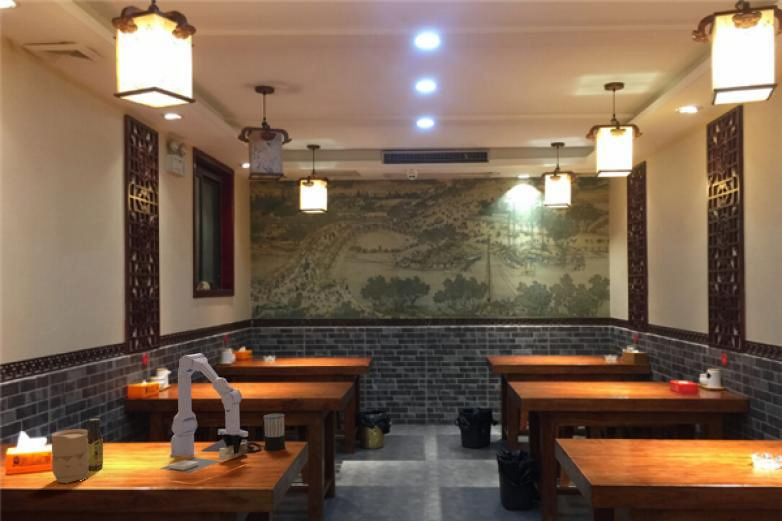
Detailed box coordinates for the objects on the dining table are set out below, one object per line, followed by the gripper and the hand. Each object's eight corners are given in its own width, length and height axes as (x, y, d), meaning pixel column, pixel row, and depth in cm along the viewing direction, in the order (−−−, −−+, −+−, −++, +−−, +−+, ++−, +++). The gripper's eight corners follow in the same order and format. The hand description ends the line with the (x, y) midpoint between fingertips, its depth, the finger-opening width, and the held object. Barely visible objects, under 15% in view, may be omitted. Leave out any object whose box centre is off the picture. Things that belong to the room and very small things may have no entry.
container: (95, 477, 269) (94, 430, 269) (65, 486, 258) (64, 437, 259) (75, 473, 275) (74, 428, 276) (45, 482, 264) (44, 434, 265)
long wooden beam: (242, 453, 294) (242, 442, 295) (246, 453, 293) (246, 443, 293) (219, 460, 282) (219, 448, 282) (224, 460, 281) (224, 449, 281)
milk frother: (290, 448, 305) (289, 414, 306) (264, 456, 292) (263, 420, 293) (267, 444, 313) (266, 411, 314) (240, 452, 301) (239, 418, 301)
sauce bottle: (97, 470, 278) (95, 421, 279) (83, 470, 280) (81, 421, 280) (106, 466, 285) (105, 417, 285) (93, 466, 286) (92, 417, 287)
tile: (183, 460, 282) (169, 465, 275) (198, 461, 278) (184, 466, 271) (184, 463, 282) (169, 468, 275) (198, 465, 278) (184, 470, 271)
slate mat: (159, 470, 276) (159, 468, 276) (192, 459, 292) (192, 457, 292) (189, 474, 268) (189, 472, 268) (221, 462, 284) (221, 461, 284)
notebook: (222, 442, 324) (201, 453, 303) (222, 439, 324) (201, 450, 303) (248, 442, 321) (228, 454, 300) (248, 439, 321) (228, 450, 300)
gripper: (212, 420, 288) (213, 453, 288) (239, 423, 281) (240, 456, 281) (224, 417, 294) (225, 449, 294) (250, 419, 287) (251, 452, 287)
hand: (233, 453), depth 288 cm, fingers closed on long wooden beam, 2 cm apart
